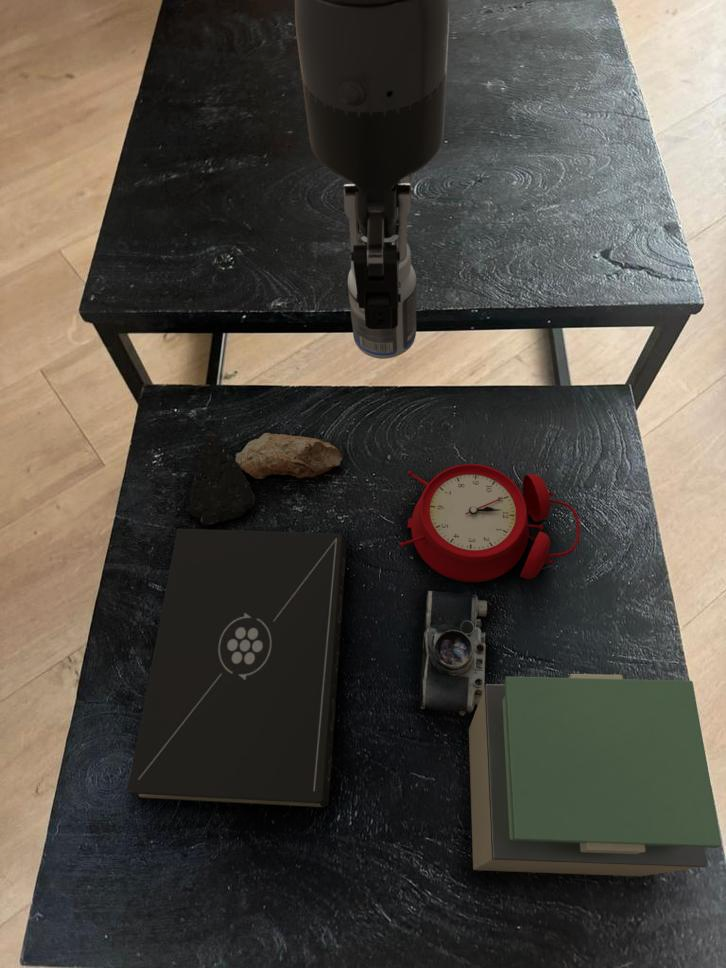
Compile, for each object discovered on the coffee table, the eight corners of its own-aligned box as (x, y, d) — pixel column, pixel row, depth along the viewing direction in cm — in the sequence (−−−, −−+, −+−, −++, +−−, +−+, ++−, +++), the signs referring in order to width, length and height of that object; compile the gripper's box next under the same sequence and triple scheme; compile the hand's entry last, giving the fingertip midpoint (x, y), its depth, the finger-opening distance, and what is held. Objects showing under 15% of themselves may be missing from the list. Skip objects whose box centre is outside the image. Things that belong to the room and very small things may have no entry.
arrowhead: (188, 528, 69) (178, 436, 74) (191, 531, 70) (180, 440, 75) (256, 511, 69) (241, 420, 74) (258, 515, 70) (243, 424, 75)
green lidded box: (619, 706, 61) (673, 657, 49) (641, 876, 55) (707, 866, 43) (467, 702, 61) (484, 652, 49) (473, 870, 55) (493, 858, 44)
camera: (486, 598, 65) (491, 579, 62) (481, 720, 61) (486, 708, 57) (427, 592, 66) (428, 574, 62) (417, 713, 61) (418, 701, 57)
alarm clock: (404, 453, 69) (577, 447, 64) (418, 487, 74) (579, 484, 69) (392, 559, 64) (579, 560, 59) (408, 588, 69) (581, 590, 64)
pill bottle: (393, 303, 59) (391, 216, 52) (428, 342, 57) (431, 258, 50) (341, 330, 58) (331, 246, 51) (375, 371, 56) (369, 289, 49)
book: (329, 808, 58) (326, 803, 55) (138, 798, 59) (126, 792, 56) (347, 547, 68) (345, 533, 66) (185, 542, 69) (176, 527, 67)
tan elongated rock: (340, 491, 73) (346, 440, 74) (335, 483, 69) (342, 430, 70) (234, 480, 74) (242, 430, 75) (225, 472, 70) (233, 419, 71)
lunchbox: (667, 693, 48) (691, 674, 44) (694, 859, 43) (723, 854, 39) (496, 689, 48) (505, 670, 44) (505, 852, 44) (515, 846, 40)
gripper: (450, 151, 35) (437, 377, 50) (445, -20, 42) (435, 223, 57) (288, 154, 36) (323, 377, 50) (310, -15, 43) (335, 225, 57)
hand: (382, 294), depth 54 cm, fingers closed on pill bottle, 4 cm apart
